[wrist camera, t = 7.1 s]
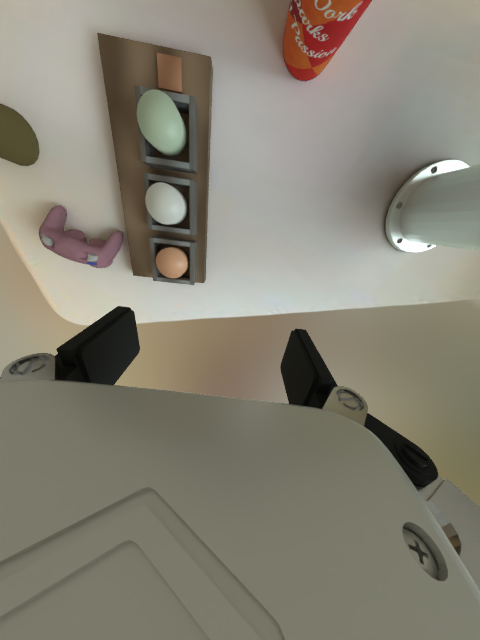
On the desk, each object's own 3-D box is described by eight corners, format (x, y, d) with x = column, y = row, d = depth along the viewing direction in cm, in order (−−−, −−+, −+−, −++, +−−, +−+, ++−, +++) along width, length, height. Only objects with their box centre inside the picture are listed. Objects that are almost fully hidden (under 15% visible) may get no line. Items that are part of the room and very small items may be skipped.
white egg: (187, 189, 24) (181, 185, 22) (187, 226, 27) (182, 226, 24) (153, 184, 24) (143, 179, 21) (156, 221, 26) (147, 222, 24)
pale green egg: (186, 110, 21) (179, 94, 18) (187, 159, 23) (180, 151, 20) (146, 102, 21) (133, 85, 18) (150, 153, 23) (139, 144, 20)
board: (212, 69, 22) (208, 36, 18) (205, 279, 34) (201, 287, 30) (108, 48, 21) (79, 8, 17) (138, 272, 33) (125, 279, 29)
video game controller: (67, 228, 31) (32, 251, 27) (56, 200, 28) (15, 222, 23) (128, 253, 33) (105, 278, 29) (125, 230, 30) (99, 255, 26)
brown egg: (190, 247, 29) (185, 250, 27) (190, 274, 31) (186, 279, 29) (161, 244, 29) (154, 246, 26) (163, 271, 31) (157, 276, 28)
